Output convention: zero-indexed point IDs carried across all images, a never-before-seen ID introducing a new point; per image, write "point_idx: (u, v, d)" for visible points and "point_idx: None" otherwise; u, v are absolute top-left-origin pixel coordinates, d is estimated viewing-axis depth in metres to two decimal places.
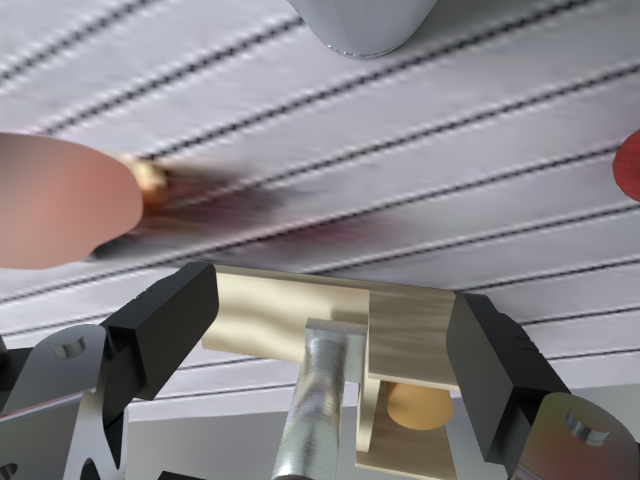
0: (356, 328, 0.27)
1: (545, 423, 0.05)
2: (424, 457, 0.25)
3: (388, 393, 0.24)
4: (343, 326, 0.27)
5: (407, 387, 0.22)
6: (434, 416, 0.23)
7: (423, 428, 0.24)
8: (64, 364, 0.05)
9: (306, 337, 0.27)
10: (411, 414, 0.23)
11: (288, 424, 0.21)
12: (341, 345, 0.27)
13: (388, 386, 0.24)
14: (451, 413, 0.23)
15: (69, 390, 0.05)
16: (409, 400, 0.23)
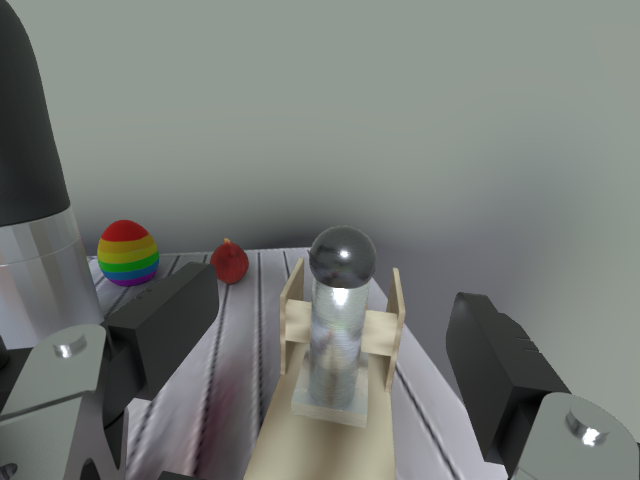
0: None
1: (545, 423, 0.05)
2: (392, 290, 0.31)
3: None
4: None
5: None
6: None
7: None
8: (64, 364, 0.05)
9: (304, 401, 0.23)
10: None
11: (319, 324, 0.21)
12: None
13: None
14: None
15: (69, 390, 0.05)
16: None
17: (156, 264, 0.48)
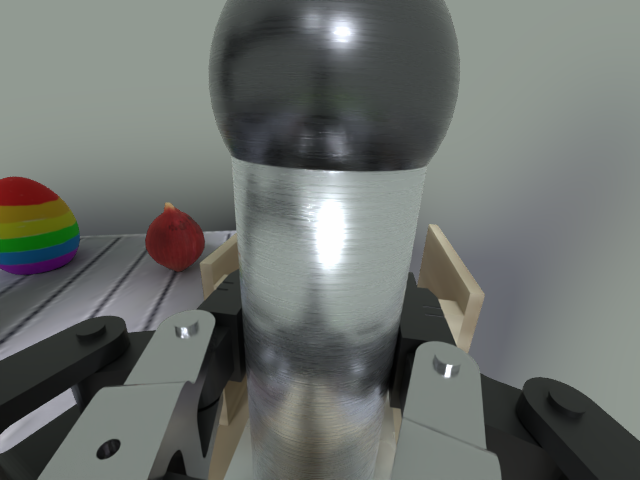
0: None
1: (419, 371, 0.06)
2: (432, 261, 0.16)
3: None
4: None
5: None
6: None
7: None
8: (178, 345, 0.06)
9: None
10: None
11: (258, 325, 0.06)
12: None
13: None
14: None
15: (176, 373, 0.05)
16: None
17: (72, 244, 0.33)
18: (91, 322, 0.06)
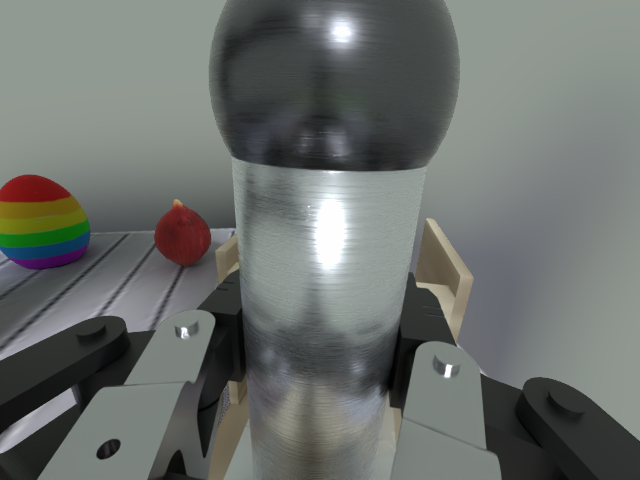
0: None
1: (419, 371, 0.06)
2: (428, 252, 0.18)
3: None
4: None
5: None
6: None
7: None
8: (178, 345, 0.06)
9: None
10: None
11: (258, 325, 0.06)
12: None
13: None
14: None
15: (176, 373, 0.05)
16: None
17: (83, 239, 0.35)
18: (91, 323, 0.06)
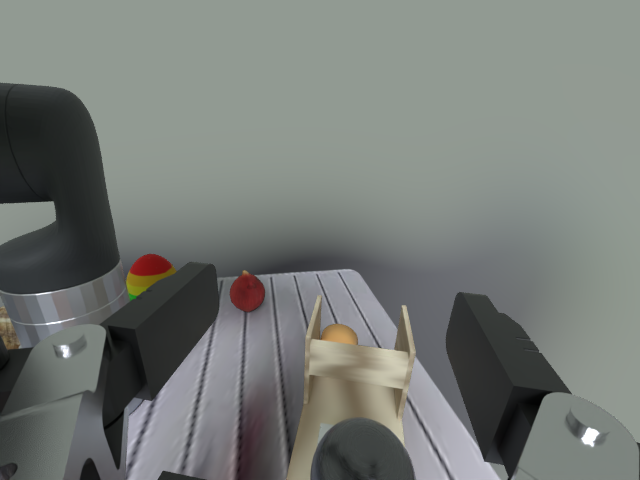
0: None
1: (545, 423, 0.05)
2: (402, 326, 0.35)
3: (322, 333, 0.40)
4: None
5: None
6: None
7: None
8: (64, 364, 0.05)
9: None
10: None
11: None
12: None
13: (321, 336, 0.39)
14: None
15: (69, 390, 0.05)
16: None
17: None
18: None
